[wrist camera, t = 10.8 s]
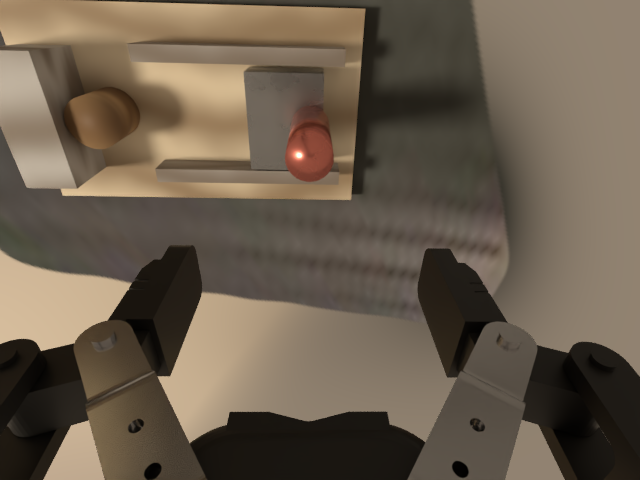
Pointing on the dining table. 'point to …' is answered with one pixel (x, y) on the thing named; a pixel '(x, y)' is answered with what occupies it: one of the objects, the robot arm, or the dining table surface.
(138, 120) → the nut
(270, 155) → the plate with copper rod
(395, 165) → the dining table surface
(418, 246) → the dining table surface
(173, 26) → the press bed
